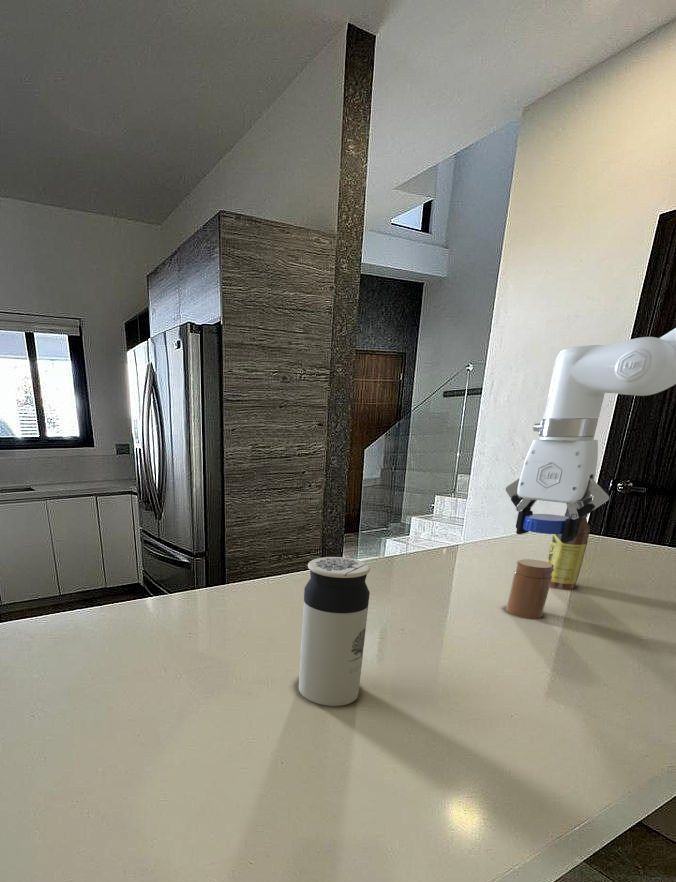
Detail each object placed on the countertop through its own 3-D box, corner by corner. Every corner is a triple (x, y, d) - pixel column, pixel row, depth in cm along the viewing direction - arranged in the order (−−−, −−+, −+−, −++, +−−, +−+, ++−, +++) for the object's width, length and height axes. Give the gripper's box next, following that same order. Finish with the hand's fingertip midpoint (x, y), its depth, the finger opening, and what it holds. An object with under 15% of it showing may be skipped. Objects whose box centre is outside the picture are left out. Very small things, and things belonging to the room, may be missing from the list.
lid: (579, 533, 82) (582, 519, 81) (544, 535, 81) (547, 521, 80) (546, 525, 88) (549, 512, 88) (513, 527, 87) (515, 514, 86)
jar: (530, 608, 93) (542, 559, 90) (548, 620, 88) (562, 568, 84) (499, 608, 93) (510, 558, 90) (515, 620, 88) (527, 567, 84)
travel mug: (286, 689, 66) (292, 563, 59) (323, 671, 70) (333, 552, 64) (333, 715, 60) (345, 579, 53) (370, 693, 65) (385, 565, 58)
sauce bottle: (547, 579, 109) (569, 491, 102) (579, 586, 105) (604, 495, 98) (536, 586, 105) (558, 494, 98) (569, 593, 101) (594, 498, 94)
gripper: (502, 430, 84) (484, 531, 90) (620, 431, 70) (589, 550, 76) (525, 430, 88) (506, 526, 94) (641, 430, 74) (610, 543, 80)
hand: (544, 536), depth 85 cm, fingers closed on lid, 6 cm apart
